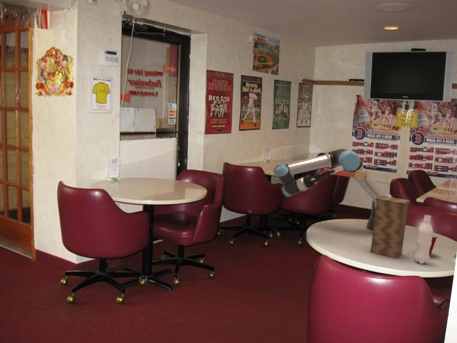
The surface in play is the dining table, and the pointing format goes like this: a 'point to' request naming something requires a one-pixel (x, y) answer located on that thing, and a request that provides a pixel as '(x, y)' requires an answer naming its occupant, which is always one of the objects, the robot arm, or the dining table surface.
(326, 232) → the dining table surface
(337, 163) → the robot arm
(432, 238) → the plastic cup
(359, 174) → the lever
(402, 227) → the stand
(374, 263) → the dining table surface
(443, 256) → the dining table surface
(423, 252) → the water bottle
